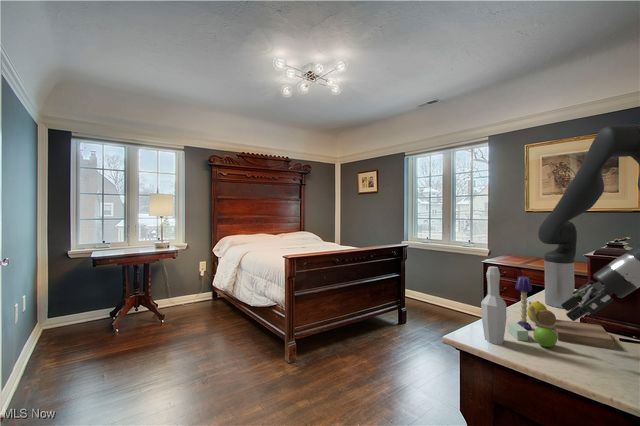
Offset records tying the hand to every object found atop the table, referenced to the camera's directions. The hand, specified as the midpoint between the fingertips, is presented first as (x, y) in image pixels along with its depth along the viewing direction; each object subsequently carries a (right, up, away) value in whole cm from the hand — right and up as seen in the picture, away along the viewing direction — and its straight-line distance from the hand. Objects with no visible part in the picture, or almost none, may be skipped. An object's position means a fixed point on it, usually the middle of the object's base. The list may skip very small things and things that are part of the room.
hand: (566, 312), depth 83 cm
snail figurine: (-4, -11, +3) cm, 12 cm away
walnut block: (+11, -10, +8) cm, 17 cm away
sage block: (-7, -11, +10) cm, 16 cm away
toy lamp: (-1, -10, +15) cm, 18 cm away
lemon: (+5, -10, +17) cm, 21 cm away
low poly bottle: (-16, -11, +7) cm, 20 cm away
